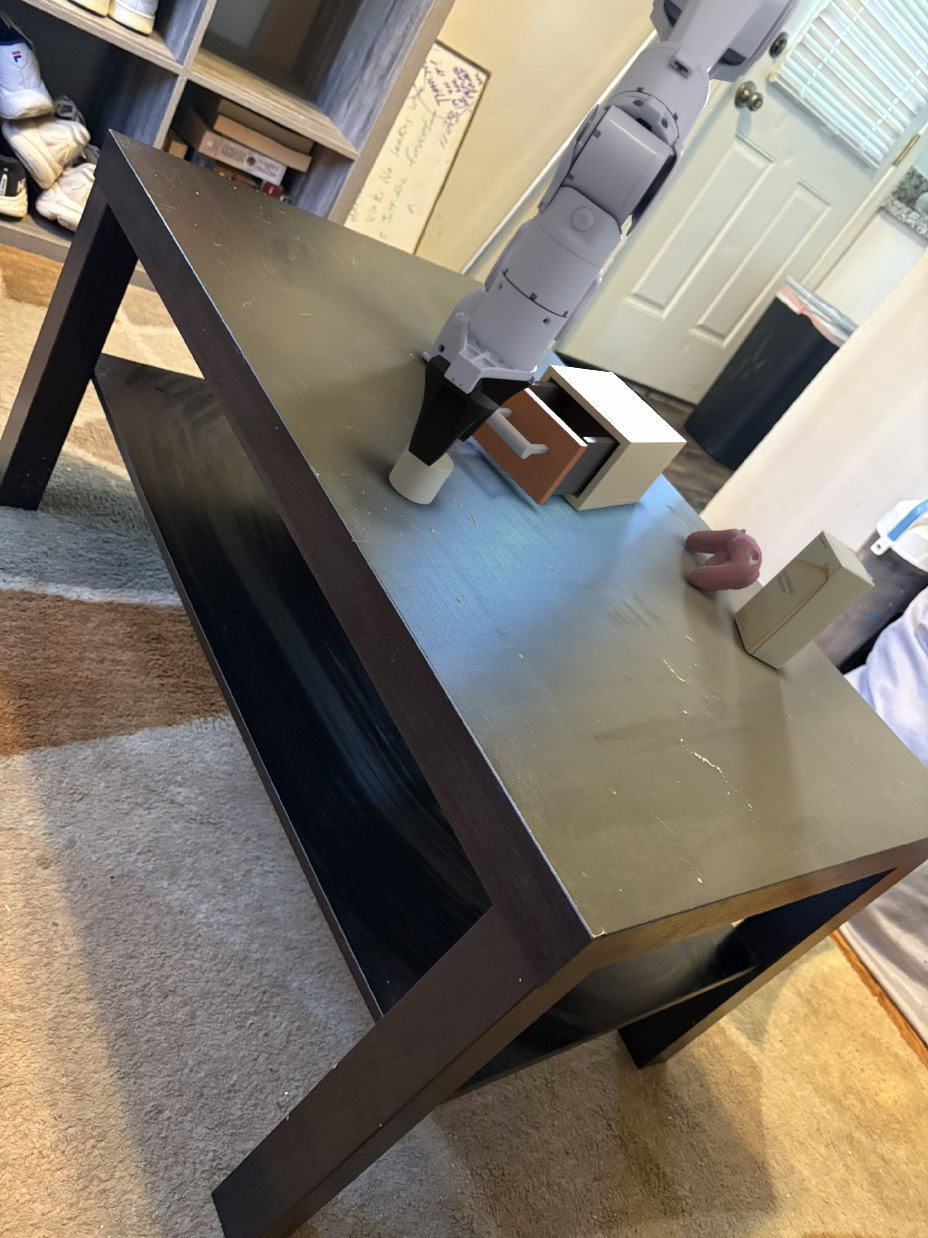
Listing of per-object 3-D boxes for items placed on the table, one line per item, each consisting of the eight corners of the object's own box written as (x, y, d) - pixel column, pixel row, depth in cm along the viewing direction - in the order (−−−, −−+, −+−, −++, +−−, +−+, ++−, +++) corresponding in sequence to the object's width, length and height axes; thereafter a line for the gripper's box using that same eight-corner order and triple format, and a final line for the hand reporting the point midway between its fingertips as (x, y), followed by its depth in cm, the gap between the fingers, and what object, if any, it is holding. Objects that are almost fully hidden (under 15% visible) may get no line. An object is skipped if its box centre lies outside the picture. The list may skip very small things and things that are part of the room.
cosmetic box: (731, 615, 88) (819, 526, 82) (765, 633, 90) (854, 548, 83) (746, 654, 83) (841, 563, 77) (781, 673, 84) (877, 585, 78)
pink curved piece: (705, 612, 89) (772, 585, 86) (686, 577, 87) (754, 548, 85) (699, 567, 97) (760, 541, 95) (682, 534, 96) (744, 507, 93)
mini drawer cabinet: (577, 511, 86) (631, 442, 81) (501, 434, 89) (549, 364, 85) (636, 503, 96) (687, 441, 92) (567, 434, 100) (612, 372, 96)
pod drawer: (512, 507, 76) (557, 446, 72) (439, 430, 79) (478, 367, 76) (601, 497, 89) (642, 445, 86) (534, 431, 92) (572, 378, 89)
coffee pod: (379, 472, 69) (400, 437, 68) (411, 470, 73) (432, 437, 71) (409, 506, 68) (432, 471, 66) (440, 503, 71) (463, 470, 69)
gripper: (518, 252, 67) (430, 396, 74) (456, 263, 55) (357, 434, 62) (591, 308, 67) (496, 446, 74) (545, 332, 55) (436, 495, 62)
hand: (438, 445), depth 68 cm, fingers open, 7 cm apart
